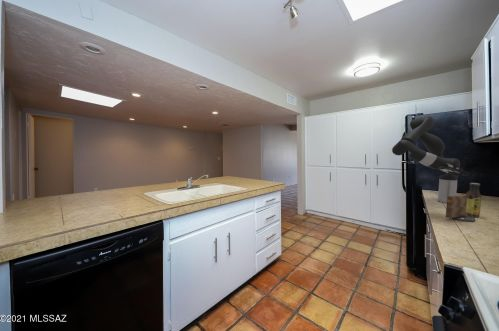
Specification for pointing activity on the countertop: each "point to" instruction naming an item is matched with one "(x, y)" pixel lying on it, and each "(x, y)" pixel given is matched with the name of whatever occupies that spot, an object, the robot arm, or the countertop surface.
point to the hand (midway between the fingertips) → (463, 174)
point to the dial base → (465, 219)
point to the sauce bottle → (473, 200)
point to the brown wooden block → (456, 206)
